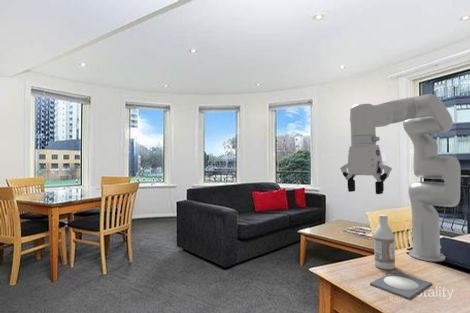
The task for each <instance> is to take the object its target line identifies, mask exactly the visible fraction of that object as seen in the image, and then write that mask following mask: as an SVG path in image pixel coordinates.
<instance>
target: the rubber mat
mask: <svg viewBox="0 0 470 313" xmlns="http://www.w3.org/2000/svg"><path fill="white" fill-rule="evenodd" d="M369 285H370V286H373V287H375V288H378V289H381V290H383V291H386V292H389V293H390V294H392V295H393V294H394V295H396V296H399V297H402V298H404V299H407V300H410V299H412V298H413V297H415V296H417V295H418V294H420V293H421V292H423V291H424V290H426V289H427V288H429V287H431V286H432V285H433V284H432V282H430V281H427V280H423V279H421V278H418V277H414V276H411V275H407V274H405V273H402V272H398V271H392V272H389V273H387V274H386V275H383V276H382V277H380V278H378V279H375V280H374V281H371V282H369Z"/></svg>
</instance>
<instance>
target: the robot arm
mask: <svg viewBox="0 0 470 313" xmlns="http://www.w3.org/2000/svg"><path fill="white" fill-rule="evenodd" d="M349 113H350V114H349V115H350V116H349V122H350V146H349V149H348V155H347V163H346V164H344V165H342V166H341V167H340V171H341V173H342V176H344V178H345V180H346V181H347V189H348V190H347V191H348V192H349V193H351V192H355V191H356V180H355V179H354V178H355V177H356V176H372V177H373V178H374V179H375V180H376V181H375V194H376V195H382V194H384V191H385V190H384V189H385V188H384V187H385V186H384V185H385V184H384V182H385V181H386V179H387V178H388V177H389V176H390V174H391V171H392V167H390V166H388V165H386V164H384V163H383V159H382V157H383V156H382V152H381V148H380V145H379V144H377V142H379V141H380V139H381V138H380V137H379V136H377V134H376V128H381V127H387V126H388V125H392V124H397V123H401V122H403V123H402V126H403V127H402V128H403V130H404V132H405V133H406V134H407V135H408V137H409V138H410V141H411V142H412V144H413V166H412V168H413V174H414V175H415V177H417V178H420V179H432V180H443V182H441V181H440V182H437V181H424V180H423V181H415V182H412V183H411V184H410V185H409V187H408V189H407V190H408V193H407V194H408V197H409V200H410V208H411V229H412V249H410V250H409V251H408V255H409V256H410V257H412V258H414V259H416V260H421V261H425V262H434V263H437V262H439V263H440V262H443V261H446V255H444V254H443V253H441V248H442V245H441V238H440V237H441V236H440V234H441V232H440V231H441V230H440V216H439V213H438V211H437V210H436V208H435V206H437V207H446V208H447V207H448V208H453V207H456V206H458V205H460V201H461V182H462V181H461V180H462V179H461V178H462V177H461V174H462V173H461V172H462V171H461V164H460V161H459V159H458V158H457V157H455V156H452V155H439V149H438V148H439V144H438V142H437V140H435V139H434V137H432V136H431V135H430V134H443V133H447V132H450V130H451V129H452V128H453V125H454V124H453V122H454V121H453V117H452V115H451V113H450V110H448V108H447V106H445V103H444V102H443V101H442V99H440V97H438V96H437V95H436V94H434V93H427V94H423V95H417V96H412V97H411V96H410V97H406V98H401V99H396V100H390V101H386V102H382V103H379V104H372V103H358V104H354V105H353V106H351V107H350V110H349ZM383 170H384V171H383Z"/></svg>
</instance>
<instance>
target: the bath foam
mask: <svg viewBox="0 0 470 313" xmlns="http://www.w3.org/2000/svg"><path fill="white" fill-rule="evenodd" d="M388 220H389V218H388V215H387V214H378V222H379V224H378V225H377V226H376V227H375V230H374V233H373V249H374V250H373V252H374V253H373V254H374V266H375V267H376V268H378V269H381V270H385V271H386V270H387V271H389V270H395V268H396V256H395V255H396V254H395V252H396V251H395V250H396V249H395V248H396V247H395V235H394V232H393V230H392V229H391V227H390V226H389V224H388V222H389V221H388Z"/></svg>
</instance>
